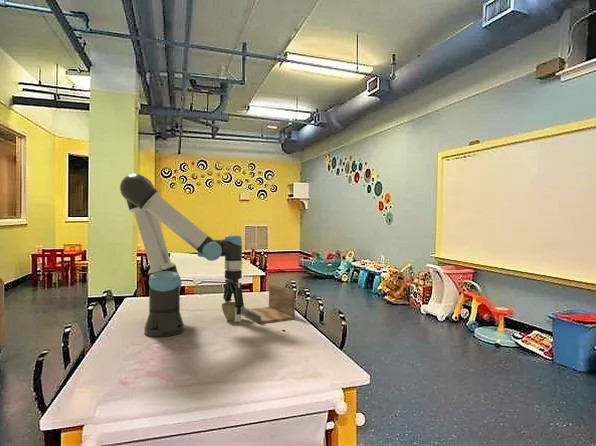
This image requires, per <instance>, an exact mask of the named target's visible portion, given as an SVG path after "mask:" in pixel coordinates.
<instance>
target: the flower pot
mask: <svg viewBox="0 0 596 446" xmlns="http://www.w3.org/2000/svg"><path fill="white" fill-rule="evenodd" d="M225 302H226V301H225ZM225 302H222V303H221V308H222V312H223V315H224V317H225V319H226V320H227V321H228V322H235V307H234V306H235V301H231V302H226V303H225ZM243 304H244V306H242V307H241V314H242V312H243V309H244V307H245V303H244V302H243Z"/></svg>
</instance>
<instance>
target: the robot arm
mask: <svg viewBox="0 0 596 446" xmlns="http://www.w3.org/2000/svg"><path fill="white" fill-rule="evenodd" d="M119 190H120V194H121V195H122V197H123V198H124V199H125V200H126V203H127V207H128V210H129V212H131V213H133V214H134V217H135V220H136V223H137V227H138V230H139V234H140V238H141V240H142V244H143V247H144V251H145V254H146V257H147V260H148V264H149V267H150V268H149V270H148V271H147V274H148V277H149V280H148V285H149V291H148V292H149V294H148V297H149V299H148V300H149V302H148V303H149V305H148V310H149V312H148V316H147V319H146V320H145V321H146V323H145V324H144V325H145V326H144V335H146V336H148V337H154V338H155V337H158V338H159V337H160V338H161V337H171V336H176V335H179V334H180V335H181V333H183V332H184V331H185V323H184V321H183V318H182V314H181V312H180V308H181V307H180V306H181V301H180V300H181V299H180V298H181V296H180V295H181V294H180V292H181V288H182V279H181V276H180V274H179V272H178V269H177V265H176V263H174V262H173V261H171V258H170V254H169V251H168V247H167V244H166V241H165V237H164V234H163V231H162V228H161V225H160V223H162V224H163V225H164V226H166V227H167V228H168V229H169V230H171V231H172V232H173V233H175V235H177V236H178V237H179V238H181V239H182V240H183V241H184V242H185V243H187V244H188V245H189V246H190V247H192V248H193V249H195V250H196V251H197V256H198V257H200V258H205V259H206V260H207V261H212V262H213V261H217V260H218V259H219V258H221V257H223V258H224V269H225V270H224V279H225V280H224V283H225V284H224V291H223V297H222V298H223V300H224V303H226V302H233V300H234V302H235V306H234V307H235V321H234V323H238V322H241V321H242V315H241V307H242V306H244V307H245V303H244V298H243V297H244V296H243V288H242V285H243V284H242V283H241V282H239V280H241V279H242V276H243V275H242V274H243V272H242V271H243V270H242V269H243V268H242V266H243V258H242V257H243V239H242V236H241V235H237V234H233V235H232V234H228V235H225V236H224V239H213V238H211V236H209V235H208V234H207V233H206V232H204V231H203V230H202V229H201V228H199V227H198V226H197V225H195V224H194V223H193V222H192V221H191V220H190V219H189V218H187V216H185V215H183V214H182V213H181V211H178V209H177V208H175V207H174V206H173V205H171V204H170V203H169V202H168V201H166V199H164V198H163V197H162V196H160V191H158V190H157V188H155V186H154V184H153V183H152V181H151V180H150V179H149V178H147V177H145V176H144V175H142V174H140V173H131V174H128V175H126V176H125V177H124V178H123V179H122V180H121V182H120V185H119ZM232 296H233V299H232ZM243 303H244V304H243Z"/></svg>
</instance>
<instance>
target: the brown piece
mask: <svg viewBox="0 0 596 446" xmlns="http://www.w3.org/2000/svg"><path fill="white" fill-rule="evenodd" d="M295 299H296V290H294V289H291V288H288V287H285V286H282V285H278V284H277V283H272V282H268V306H264V307H256V308H255V307H254V308H246V307H245V306H244V309H243V312H242V315H241V316H244V317H245V318H247V319H249V320H250V321H252V322H254V323H256V324H257V325H261V324H269V323H275V322H276V323H277V322H283V321H290V320H295V317H296V316H295V315H296V313H295V312H296V311H295V308H296V307H295V306H296V304H295V303H296V302H295V301H296V300H295Z"/></svg>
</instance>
